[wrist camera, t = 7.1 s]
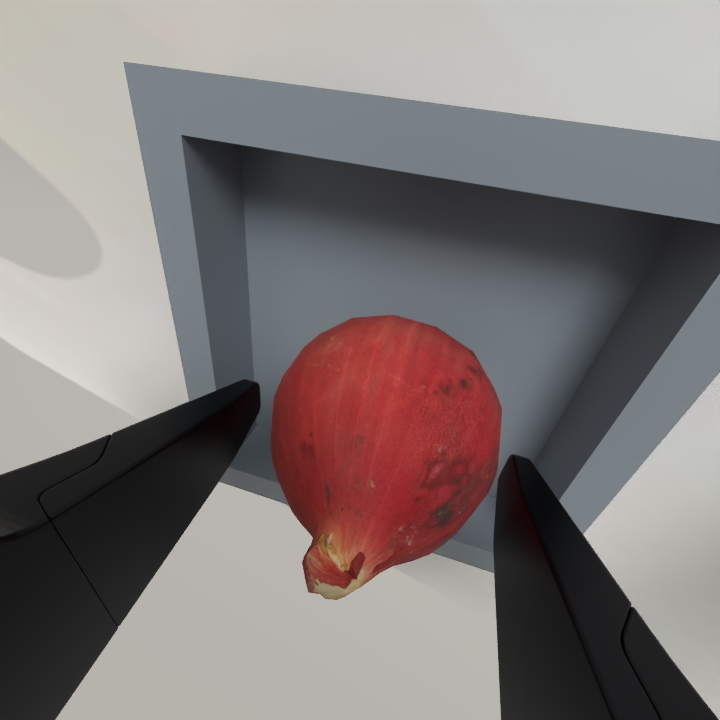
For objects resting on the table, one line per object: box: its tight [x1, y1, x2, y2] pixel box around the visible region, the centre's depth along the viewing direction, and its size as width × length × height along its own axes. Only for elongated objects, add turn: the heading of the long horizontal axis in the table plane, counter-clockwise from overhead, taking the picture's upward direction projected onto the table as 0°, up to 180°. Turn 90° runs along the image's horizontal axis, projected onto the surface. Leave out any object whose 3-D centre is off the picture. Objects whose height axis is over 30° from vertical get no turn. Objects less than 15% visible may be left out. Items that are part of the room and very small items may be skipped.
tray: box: [124, 62, 720, 573], centre depth 12 cm, size 14×14×4 cm
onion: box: [270, 315, 502, 600], centre depth 9 cm, size 6×6×8 cm
